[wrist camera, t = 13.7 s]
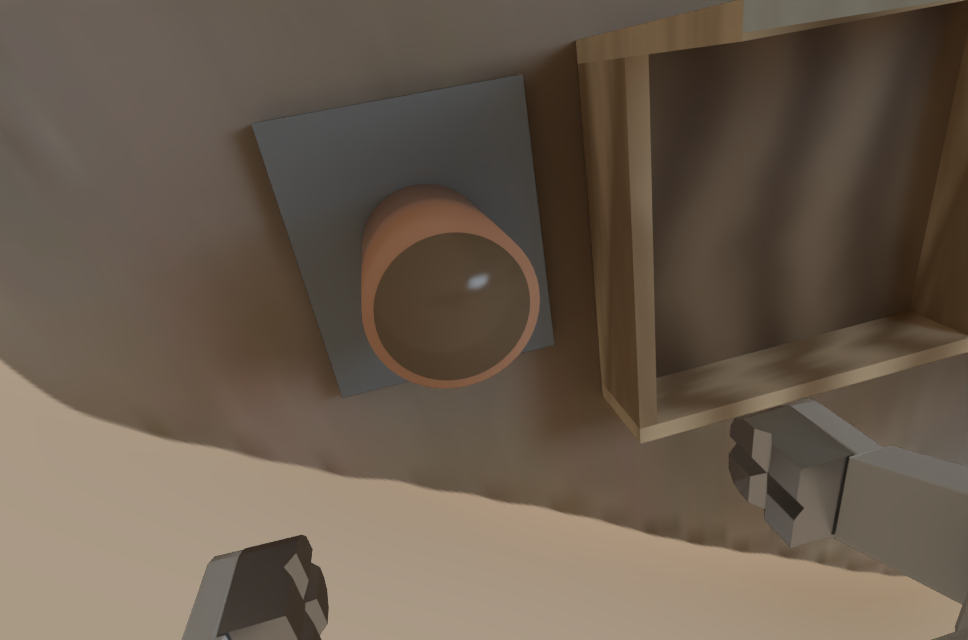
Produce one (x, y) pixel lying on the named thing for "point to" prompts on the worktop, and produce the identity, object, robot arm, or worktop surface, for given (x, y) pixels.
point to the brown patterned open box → (774, 202)
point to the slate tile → (384, 170)
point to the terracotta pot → (443, 289)
